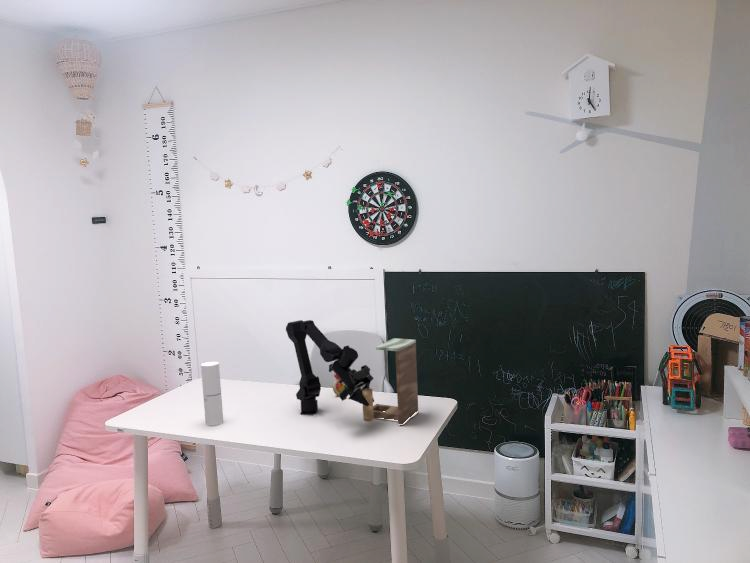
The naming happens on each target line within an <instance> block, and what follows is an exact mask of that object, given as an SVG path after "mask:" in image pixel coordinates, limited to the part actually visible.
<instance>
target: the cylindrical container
mask: <svg viewBox="0 0 750 563" xmlns="http://www.w3.org/2000/svg"><path fill="white" fill-rule="evenodd" d="M200 369H201V382H202V383H201V384H202V395H203V396H202V397H203V406H204V407H203V408H204V419H205V425H206V426H208V427H216V426H220V425H223V423H224V413H223V412H224V409H223V400H222V398H223V396H222V386H221V385H222V384H221V372H220V371H221V370H220V362H218V361H207V362H203V363H201V364H200Z"/></svg>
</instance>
